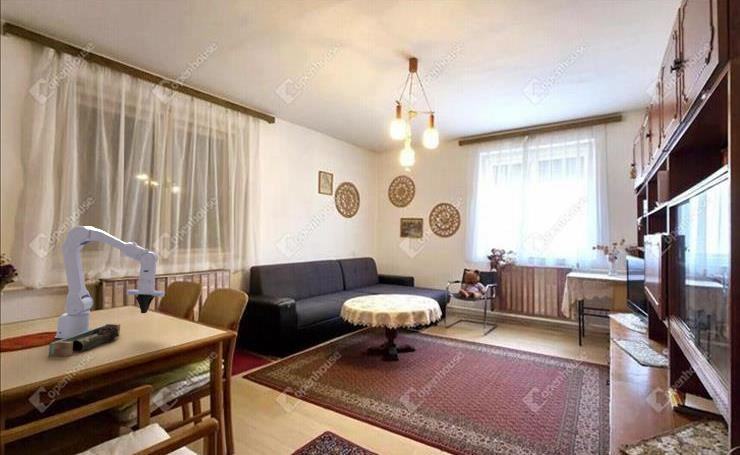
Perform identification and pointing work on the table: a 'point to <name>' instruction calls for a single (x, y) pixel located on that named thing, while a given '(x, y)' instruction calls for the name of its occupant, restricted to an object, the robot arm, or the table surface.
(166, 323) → the table surface
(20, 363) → the table surface
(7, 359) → the table surface
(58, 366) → the table surface
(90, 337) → the metal pipe
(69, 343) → the dock
